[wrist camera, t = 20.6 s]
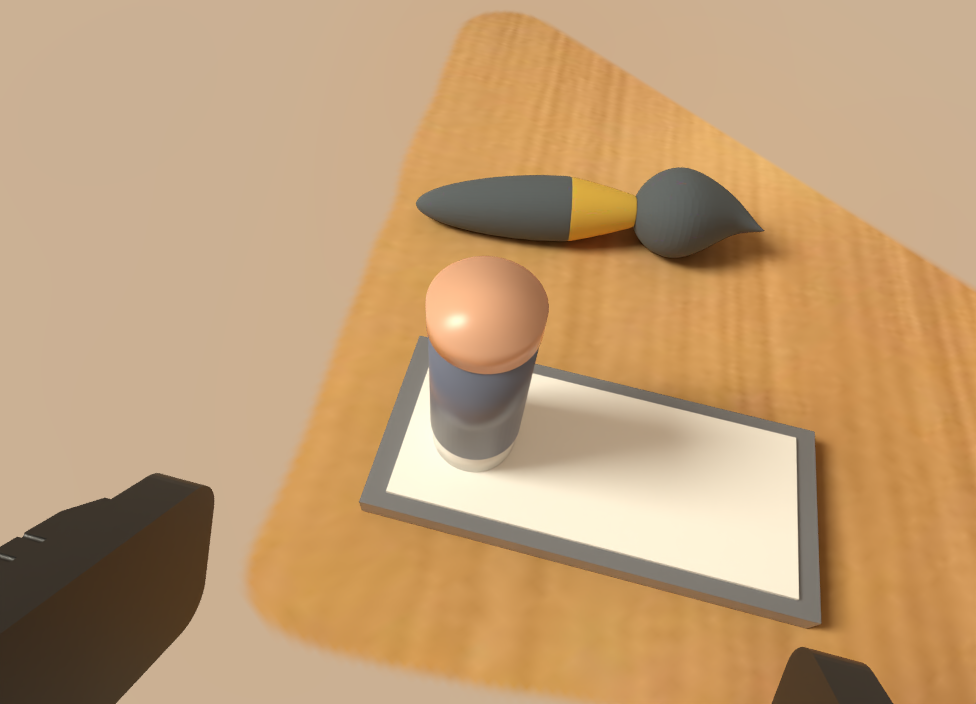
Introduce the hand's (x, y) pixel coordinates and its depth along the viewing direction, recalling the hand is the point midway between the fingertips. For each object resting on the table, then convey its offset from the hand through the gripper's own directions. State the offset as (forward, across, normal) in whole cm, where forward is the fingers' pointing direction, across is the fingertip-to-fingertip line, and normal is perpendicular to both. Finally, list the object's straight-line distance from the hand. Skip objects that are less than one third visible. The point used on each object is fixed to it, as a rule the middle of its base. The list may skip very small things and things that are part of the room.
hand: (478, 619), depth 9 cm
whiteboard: (+21, -4, +6) cm, 23 cm away
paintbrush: (+32, -1, -4) cm, 32 cm away
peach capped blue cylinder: (+20, +2, +5) cm, 21 cm away
